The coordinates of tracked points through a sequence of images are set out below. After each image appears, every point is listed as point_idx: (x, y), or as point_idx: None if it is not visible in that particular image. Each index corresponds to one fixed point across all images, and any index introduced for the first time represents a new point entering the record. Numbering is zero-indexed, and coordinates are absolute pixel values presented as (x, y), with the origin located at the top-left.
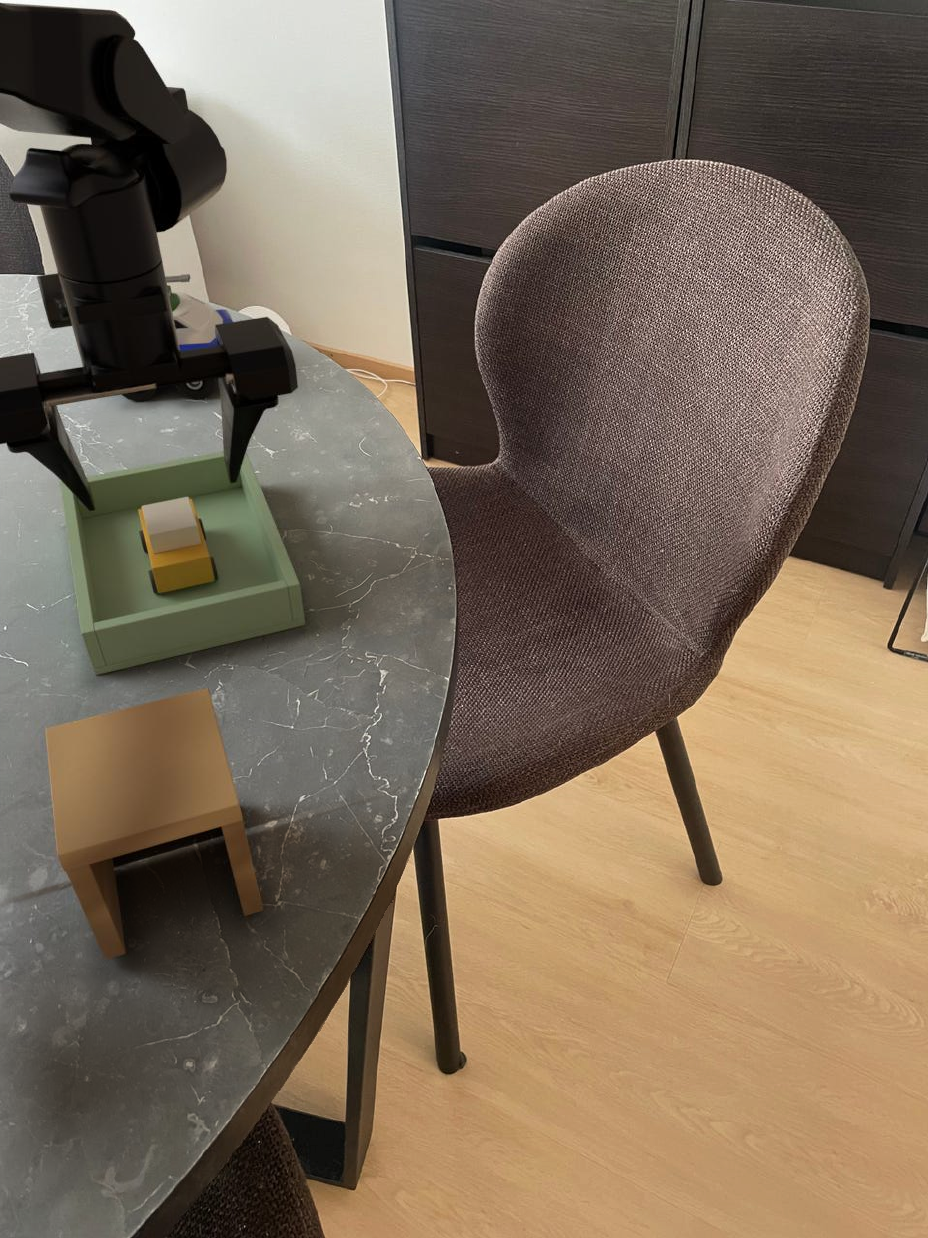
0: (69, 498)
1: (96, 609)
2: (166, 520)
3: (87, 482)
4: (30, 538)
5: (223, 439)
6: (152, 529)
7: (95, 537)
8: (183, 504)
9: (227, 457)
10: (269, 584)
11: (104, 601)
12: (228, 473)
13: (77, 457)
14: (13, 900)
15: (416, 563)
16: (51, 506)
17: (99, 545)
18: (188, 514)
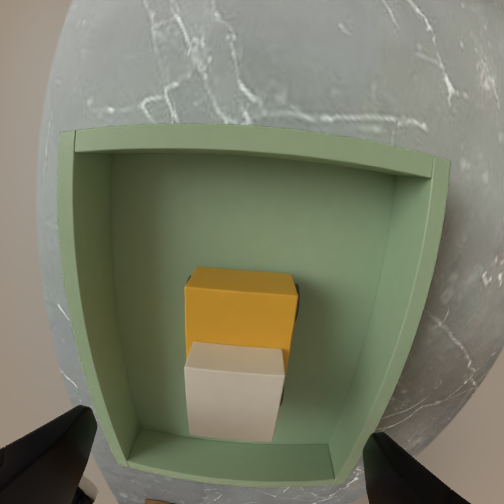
0: (66, 202)
1: (126, 377)
2: (224, 420)
3: (70, 451)
4: (55, 163)
5: (404, 492)
6: (197, 427)
7: (125, 216)
8: (267, 395)
9: (378, 499)
10: (317, 482)
11: (134, 362)
12: (368, 462)
13: (35, 468)
14: (114, 495)
15: (461, 390)
16: (88, 87)
17: (128, 243)
18: (266, 421)
